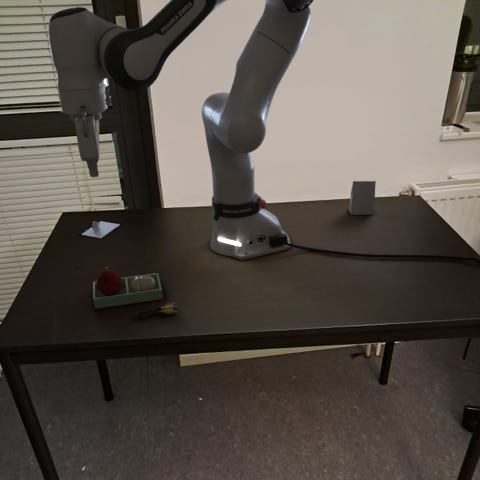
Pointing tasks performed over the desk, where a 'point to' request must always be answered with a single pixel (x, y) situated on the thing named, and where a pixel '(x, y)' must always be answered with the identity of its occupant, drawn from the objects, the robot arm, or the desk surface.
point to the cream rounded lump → (143, 284)
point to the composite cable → (158, 311)
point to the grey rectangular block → (362, 198)
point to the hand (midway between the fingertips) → (94, 168)
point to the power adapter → (100, 229)
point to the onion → (109, 282)
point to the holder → (127, 293)
